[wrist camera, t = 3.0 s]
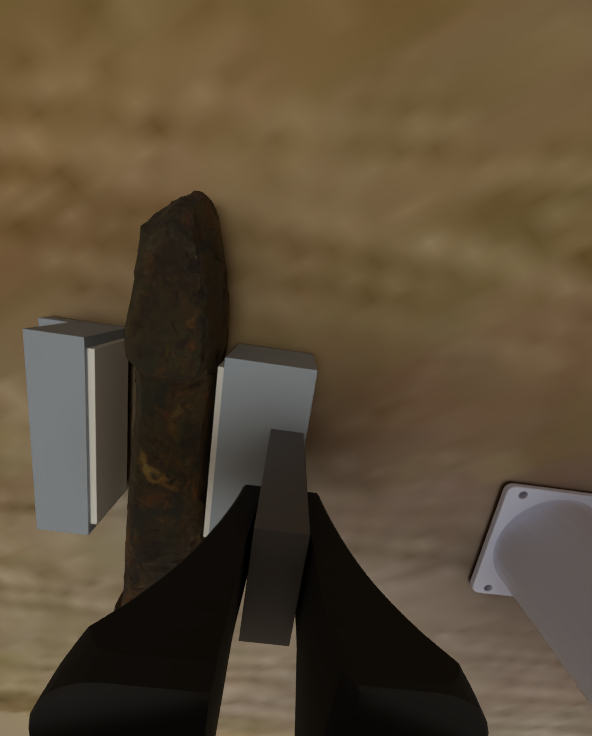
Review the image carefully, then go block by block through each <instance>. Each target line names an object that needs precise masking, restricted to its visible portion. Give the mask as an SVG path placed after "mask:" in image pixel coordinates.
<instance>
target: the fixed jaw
mask: <svg viewBox="0 0 592 736" xmlns="http://www.w3.org/2000/svg"><path fill="white" fill-rule="evenodd" d="M38 321H39V327H32V328H25V329H23V339H24V353H25V367H26V381H27V395H28V409H29V423H30V438H31V452H32V466H33V480H34V494H35V508H36V522H37V529H41V530H50V531H58V532H67V533H76V534H84V535H89V534H90V532H91V531H92V530H93V529H94V528H95V527H96V525H97V524H98V523H99V522H100V521H101V519H102V518H103V517H104V516H105V515H106V513H107V512H108V511H109V510H110V509H111V508H112V506H113V505H114V504H115V503H116V502H117V500H118V499H119V498H120V497H121V496H122V494H123V493H124V492H125V491H126V489H127V418H128V359H127V358H126V356H125V346H124V334H125V327H121V326H114V325H107V324H100V323H93V322H86V321H79V320H72V319H65V318H58V317H51V316H50V317H41V318H38Z"/></svg>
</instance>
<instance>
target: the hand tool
mask: <svg viewBox="0 0 592 736" xmlns="http://www.w3.org/2000/svg"><path fill="white" fill-rule="evenodd" d="M226 276H227V275H226V269H225V262H224V251H223V244H222V239H221V234H220V226H219V219H218V216H217V212H216V209H215V207H214V204H213V203H212V201H211V200H210V199H209V198H208V197H207V196H206V195H205V194H204V193H203V192H200V191H193V192H192V193H191V194H189V195H187V196H183V197H180V198H179V199H177V200H175V201H172V202H171V203H170V204H169V205H168V206H166V207H165V208H163V209H162V210H160V211H159V212H157V213H155V214H154V215H153V216H152V217H151V218H150V219H149V221H147V222H146V223H144V224H143V225H141V228H140V241H139V247H138V255H137V260H136V265H135V270H134V278H135V279H134V284H133V290H132V296H131V301H130V305H129V310H128V314H127V320H126V325H125V334H124V346H125V356H126V358H127V359H128V360H129V361H130V362H131V363H132V364H133V366H134V367H135V368H136V370H135V374H136V379H135V382H136V417H135V422H134V426H133V439H132V454H131V464H130V475H129V492H128V505H127V510H128V514H127V526H126V542H125V573H124V590H123V592H122V594H121V595H120V597H119V599H118V601H117V603H116V605H115V609H114V611H115V610H117V609H118V608H120V607H121V606H123V605H125V604H126V603H128V602H129V601H131V600H132V599H134V598H135V597H136V596H138V595H139V594H140V593H142V592H143V591H144V590H146V589H147V588H148V587H150V586H151V585H153V584H154V583H155V582H157V581H158V580H159V579H161V578H162V577H163V576H164V575H166V574H167V573H168V572H169V571H170V570H172V569H173V568H174V567H175V566H176V565H177V564H178V563H180V562H181V561H182V560H183V559H184V558H185V557H186V556H187V555H188V554H190V553H191V552H192V551H193V550H194V549H195V548H196V547H197V546H198V545H199V544H200V543H201V542H202V541H203V540H204V538H205V537H203V534H204V523H205V511H206V500H207V488H208V477H209V466H210V454H211V443H212V431H213V420H214V409H215V397H216V386H217V374H218V366H219V365H220V364H221V363H222V361H223V356H224V352H225V348H226V344H227V337H228V316H229V294H228V292H227V282H226Z"/></svg>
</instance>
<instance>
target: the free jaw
mask: <svg viewBox="0 0 592 736" xmlns="http://www.w3.org/2000/svg"><path fill="white" fill-rule="evenodd" d="M317 371H318V370H317V367H316V363H315V360H314V356H313V354H309V353H302V352H295V351H288V350H281V349H274V348H267V347H260V346H253V345H246V344H238V345H237V346H236V347H235V348H234V349H233V350H232V351H231V352H230V353H229V354H228V355H227V356H226V357H225V360H224V361H223V362H222V363H221V364H220V365H219V366H218V374H217V386H216V397H215V409H214V420H213V431H212V443H211V454H210V466H209V477H208V488H207V500H206V511H205V523H204V534H203V537H206V536H207V535H208V534H209V533H210V532H211V531H212V529H213V528H214V527H215V526H216V525H217V524H218V523H219V521H220V520H221V519H222V517H223V516H224V515H225V514H226V512H227V511H228V510H229V508H230V507H231V506H232V504H233V503H234V501H235V500H236V498H237V497H238V495H239V493H240V492H241V490H242V488H243V486H245V485H246V484H247V485H255V486H261V490H260V496H259V502H258V508H257V514H256V519H255V525H254V532H253V539H252V547H251V554H250V562H249V569H248V576H247V584H246V591H245V599H244V606H243V613H242V621H241V628H240V636H239V641H245V642H255V643H264V644H274V645H283V646H289V644H290V638H291V633H292V628H293V623H294V617H295V612H296V607H297V601H298V596H299V591H300V586H301V580H302V575H303V570H304V564H305V559H306V554H307V549H308V543H309V538H310V525H309V510H308V494H307V478H306V463H305V442H306V436H307V430H308V424H309V418H310V412H311V406H312V400H313V395H314V389H315V383H316V377H317Z"/></svg>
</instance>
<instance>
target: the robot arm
mask: <svg viewBox="0 0 592 736" xmlns="http://www.w3.org/2000/svg"><path fill="white" fill-rule="evenodd" d="M260 490H261V486H255V485H247V484H246V485H245V486H243V488H242V490H241V492H240V493H239V495H238V497H237V498H236V500H235V501H234V503H233V504H232V506H231V507H230V508H229V510H228V511H227V512H226V514H225V515H224V516H223V517H222V519H221V520H220V521H219V523H218V524H217V525H216V526H215V527H214V528H213V529H212V531H211V532H210V533H209V534H208V535H207V536H206V537H205V538H204V540H203V541H202V542H201V543H200V544H199V545H198V546H197V547H196V548H195V549H194V550H193V551H192V552H191V553H190V554H188V555H187V556H186V557H185V558H184V559H183V560H182V561H181V562H180V563H178V564H177V565H176V566H175V567H174V568H173V569H172V570H170V571H169V572H168V573H167V574H166V575H164V576H163V577H162V578H161V579H159V580H158V581H157V582H155V583H154V584H153V585H151V586H150V587H148V588H147V589H146V590H144V591H143V592H142V593H140V594H139V595H138V596H136V597H135V598H134V599H132V600H131V601H129V602H128V603H126V604H125V605H123V606H121V607H120V608H118V609H117V610H115V611H113V612H112V613H110V614H109V615H107V616H105V617H104V618H102V619H101V620H99V621H97V622H96V623H94V624H92V625H90V626H89V627H88V628H87V629H86V631H85V632H84V633H83V634H82V636H81V637H80V638H79V640H78V641H77V642H76V643H75V645H74V646H73V647H72V649H71V650H70V652H69V653H68V654H67V655H66V657H65V658H64V659H63V661H62V662H61V664H60V665H59V667H58V668H57V670H56V671H55V673H54V675H53V676H52V678H51V680H50V681H49V683H48V684H47V686H46V688H45V689H44V691H43V693H42V694H41V696H40V697H39V699H38V701H37V702H36V704H35V706H34V708H33V709H32V711H31V713H30V718H29V735H30V736H216V730H217V724H218V718H219V712H220V706H221V700H222V695H223V689H224V683H225V677H226V671H227V665H228V659H229V654H230V648H231V642H232V637H233V632H234V628H235V623H236V619H237V615H238V611H239V607H240V603H241V599H242V595H243V591H244V587H245V583H246V579H247V575H248V569H249V562H250V554H251V547H252V539H253V532H254V525H255V519H256V514H257V508H258V502H259V496H260ZM521 492H522V493H521ZM520 493H521V494H520ZM307 494H308V510H309V525H310V538H309V543H308V549H307V554H306V559H305V564H304V570H303V575H302V580H301V586H300V591H299V596H298V601H297V607H296V612H295V618H296V639H297V660H296V707H295V736H488V734H489V733H488V726H487V721H486V719H485V716H484V714H483V712H482V710H481V707H480V705H479V703H478V701H477V698H476V696H475V694H474V692H473V690H472V688H471V686H470V684H469V682H468V680H467V678H466V676H465V675H464V673H463V671H462V669H461V667H460V665H459V663H458V662H456V661H455V660H454V659H453V658H452V657H450V656H449V655H448V654H447V653H446V652H444V651H443V650H442V649H441V648H440V647H438V646H437V645H436V644H435V643H434V642H432V641H431V640H430V639H429V638H427V637H426V636H425V635H424V634H423V633H422V632H421V631H420V630H419V629H418V628H416V627H415V626H414V625H413V624H412V623H411V622H410V621H409V620H408V619H407V618H406V617H405V616H404V615H403V614H402V613H401V612H400V611H399V610H398V609H397V608H396V607H395V606H394V605H393V604H392V603H391V602H390V601H389V600H388V599H387V598H386V597H385V595H384V594H383V593H382V592H381V591H380V590H379V589H378V588H377V587H376V585H375V584H374V583H373V582H372V581H371V580H370V578H369V577H368V576H367V574H366V573H365V572H364V571H363V569H362V568H361V567H360V565H359V564H358V563H357V561H356V560H355V558H354V557H353V555H352V554H351V552H350V551H349V550H348V548H347V547H346V545H345V543H344V542H343V540H342V539H341V537H340V535H339V534H338V532H337V530H336V528H335V527H334V525H333V523H332V521H331V520H330V518H329V516H328V514H327V512H326V510H325V508H324V506H323V504H322V502H321V500H320V497H319V496H318V494H317V493H311V492H307ZM470 585H471V587H472V589H473V590H474V591H475V592H478V593H487V594H495V595H504V596H513V597H514V598H515V600H516V601H517V602H518V604H519V605H520V607H521V608H522V609H523V611H524V612H525V614H526V615H527V616H528V618H529V619H530V621H531V622H532V624H533V625H534V626H535V628H536V629H537V631H538V632H539V633H540V635H541V636H542V638H543V639H544V640H545V642H546V643H547V645H548V646H549V647H550V649H551V650H552V652H553V653H554V654H555V656H556V657H557V659H558V660H559V661H560V663H561V664H562V666H563V667H564V668H565V670H566V671H567V673H568V674H569V675H570V677H571V678H572V680H573V681H574V682H575V684H576V685H577V687H578V688H579V689H580V691H581V692H582V694H583V695H584V696H585V698H586V699H587V701H588V702H589V703H590V705H591V706H592V493H585V492H577V491H570V490H562V489H554V488H547V487H539V486H531V485H523V484H516V483H510V484H508V485H506V486H505V487H504V489H503V491H502V494H501V497H500V500H499V502H498V505H497V508H496V511H495V514H494V516H493V519H492V522H491V525H490V528H489V530H488V533H487V536H486V539H485V541H484V544H483V547H482V550H481V553H480V555H479V558H478V561H477V564H476V567H475V569H474V572H473V575H472V578H471V581H470Z"/></svg>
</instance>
